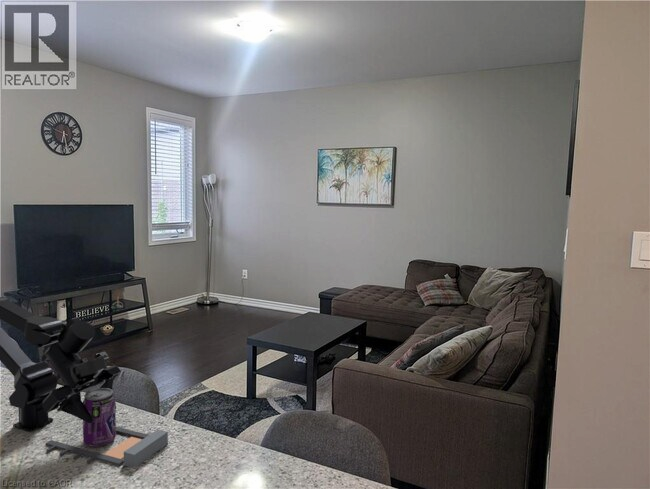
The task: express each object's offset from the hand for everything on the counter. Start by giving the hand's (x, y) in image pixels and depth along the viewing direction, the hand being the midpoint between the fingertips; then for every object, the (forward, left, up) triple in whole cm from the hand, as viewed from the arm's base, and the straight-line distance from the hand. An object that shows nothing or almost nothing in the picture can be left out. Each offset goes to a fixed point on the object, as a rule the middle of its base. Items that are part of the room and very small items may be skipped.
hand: (103, 415), depth 109 cm
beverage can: (-1, 0, -7) cm, 7 cm away
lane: (+1, -1, -7) cm, 7 cm away
